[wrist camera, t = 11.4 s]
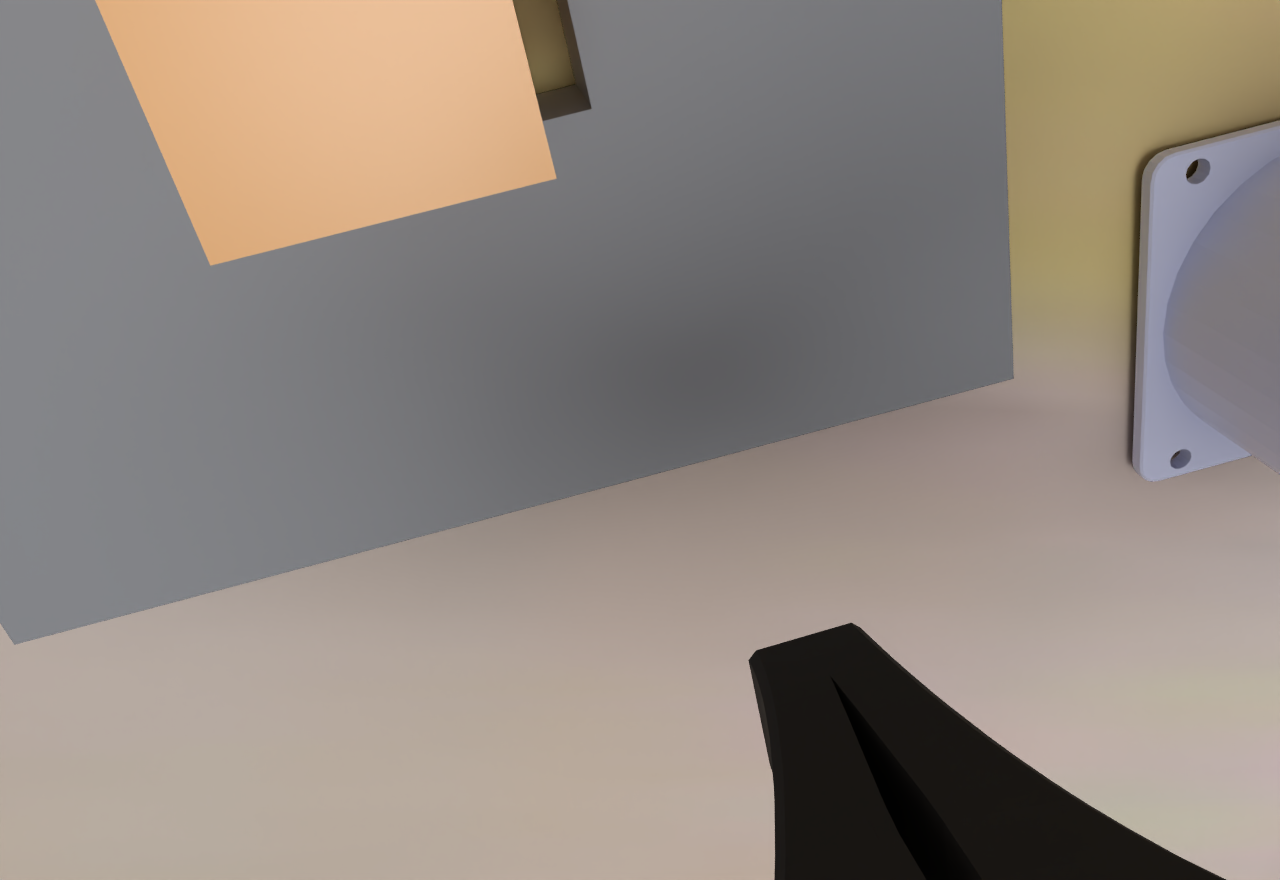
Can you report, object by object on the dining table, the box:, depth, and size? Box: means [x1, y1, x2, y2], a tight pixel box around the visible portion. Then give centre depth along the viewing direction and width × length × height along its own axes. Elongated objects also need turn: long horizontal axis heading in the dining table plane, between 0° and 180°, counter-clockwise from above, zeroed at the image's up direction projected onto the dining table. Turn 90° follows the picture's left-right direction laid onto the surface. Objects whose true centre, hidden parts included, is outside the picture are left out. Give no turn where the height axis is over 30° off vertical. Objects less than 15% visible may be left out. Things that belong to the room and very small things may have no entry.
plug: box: [95, 0, 557, 266], centre depth 14 cm, size 4×4×8 cm
